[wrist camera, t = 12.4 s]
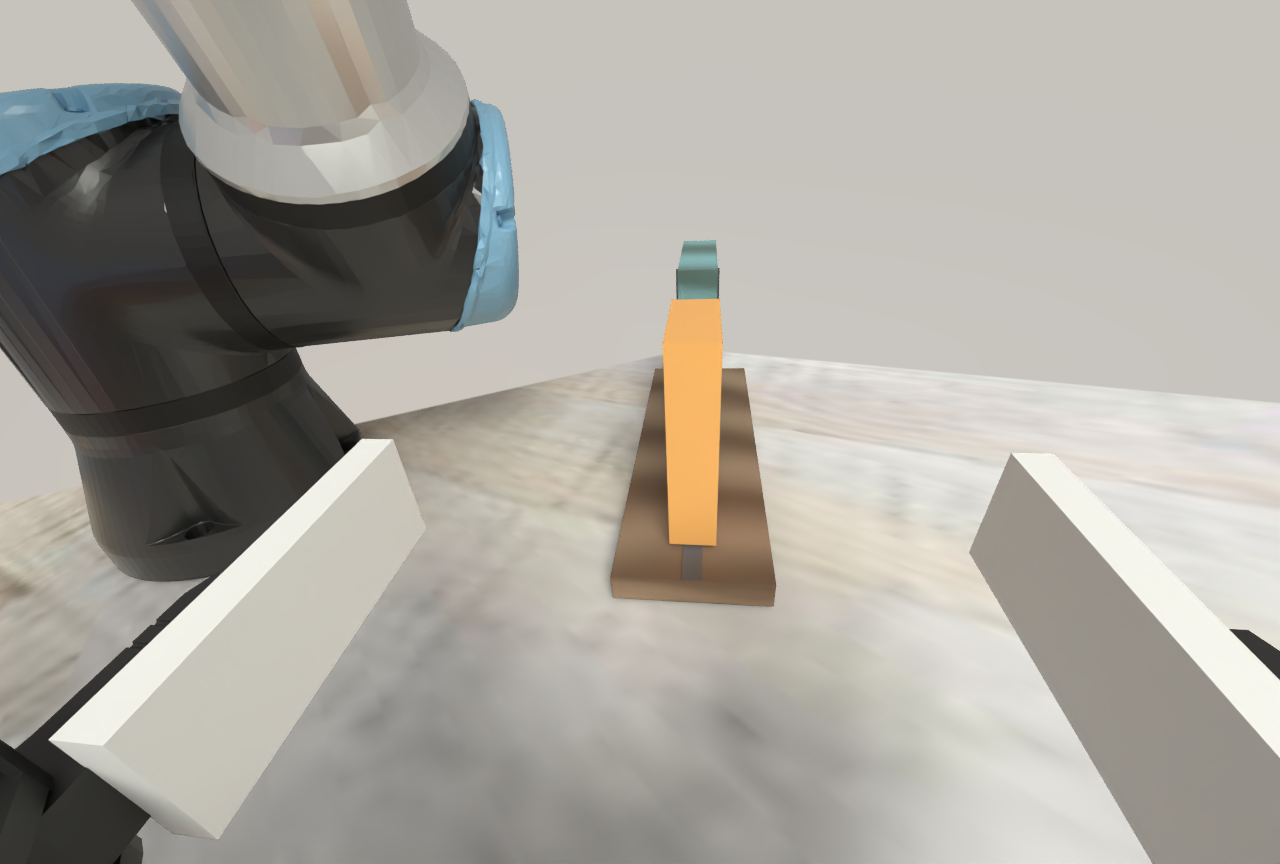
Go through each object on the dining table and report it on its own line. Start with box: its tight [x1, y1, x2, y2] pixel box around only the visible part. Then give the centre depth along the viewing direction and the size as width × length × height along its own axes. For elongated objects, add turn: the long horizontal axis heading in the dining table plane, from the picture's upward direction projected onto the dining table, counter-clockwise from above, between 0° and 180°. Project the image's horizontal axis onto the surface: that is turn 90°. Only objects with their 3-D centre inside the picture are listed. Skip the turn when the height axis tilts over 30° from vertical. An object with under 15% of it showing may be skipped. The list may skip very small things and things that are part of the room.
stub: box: [663, 299, 723, 546], centre depth 26 cm, size 6×2×11 cm, turn 173°
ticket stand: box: [611, 240, 776, 606], centre depth 32 cm, size 25×8×13 cm, turn 173°
